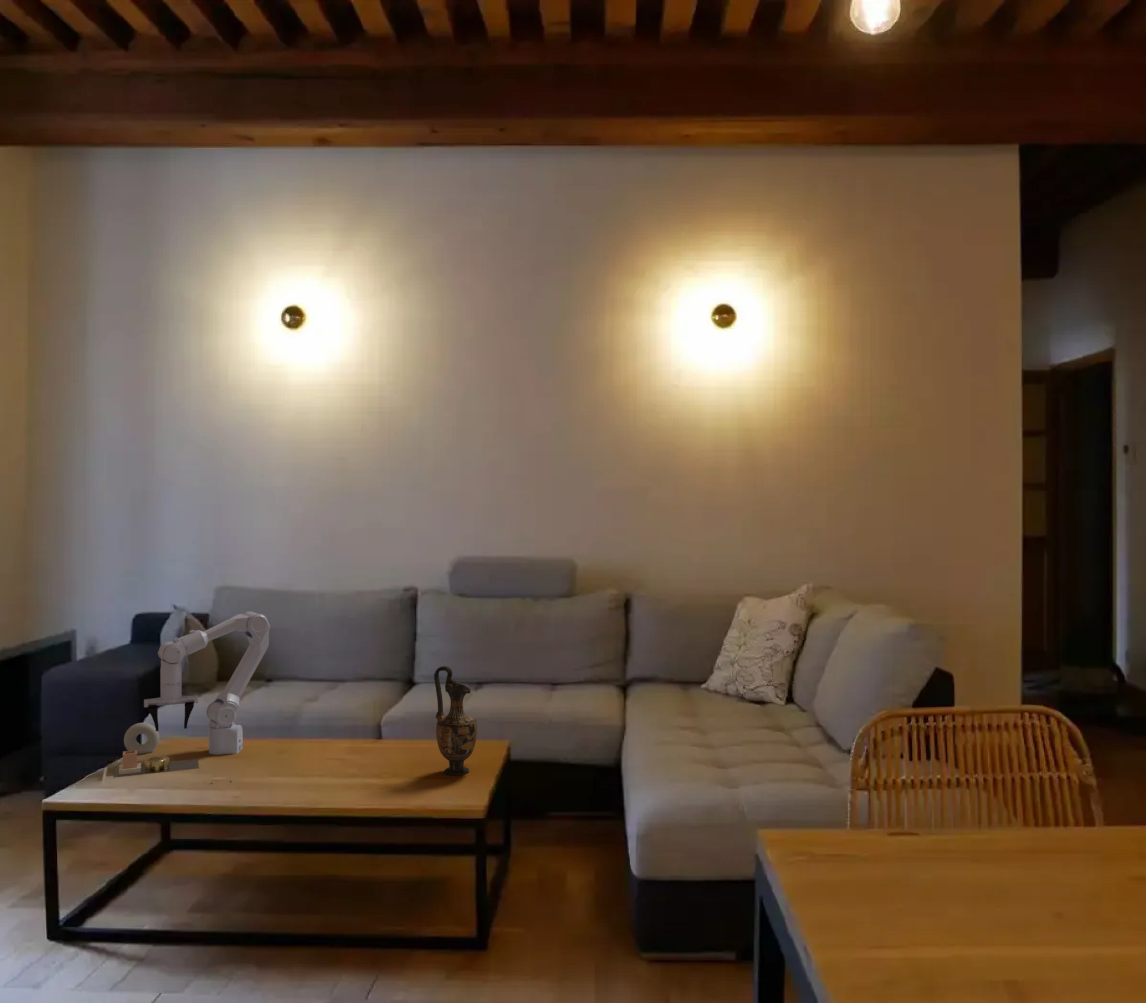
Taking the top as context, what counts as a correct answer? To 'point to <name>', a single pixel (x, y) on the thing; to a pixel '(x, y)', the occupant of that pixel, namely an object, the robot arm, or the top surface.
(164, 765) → the carrier plate
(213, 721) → the robot arm
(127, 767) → the square sleeve on tile
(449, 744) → the vase
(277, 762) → the top surface
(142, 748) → the donut
